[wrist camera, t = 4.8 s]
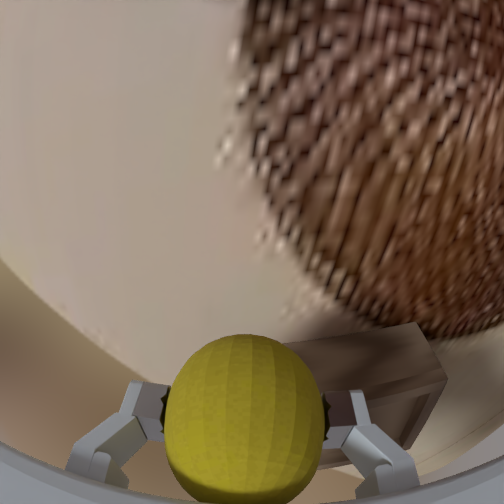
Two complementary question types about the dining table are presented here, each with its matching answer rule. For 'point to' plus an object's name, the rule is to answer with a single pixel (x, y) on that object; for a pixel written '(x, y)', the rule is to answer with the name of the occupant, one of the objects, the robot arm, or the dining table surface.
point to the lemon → (244, 423)
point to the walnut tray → (378, 379)
